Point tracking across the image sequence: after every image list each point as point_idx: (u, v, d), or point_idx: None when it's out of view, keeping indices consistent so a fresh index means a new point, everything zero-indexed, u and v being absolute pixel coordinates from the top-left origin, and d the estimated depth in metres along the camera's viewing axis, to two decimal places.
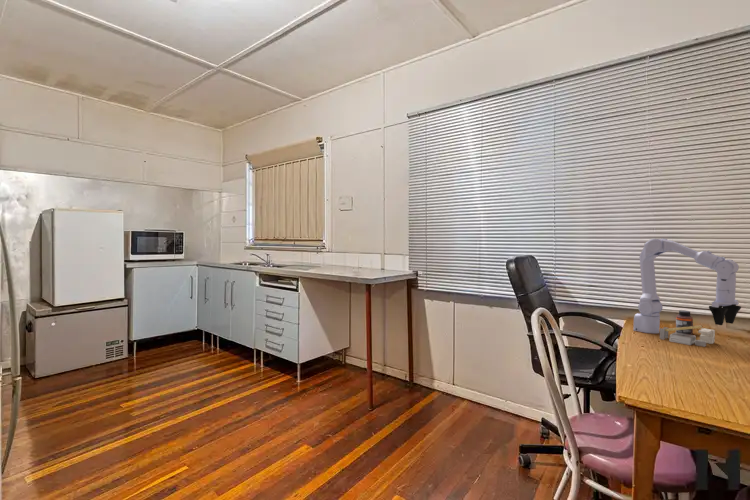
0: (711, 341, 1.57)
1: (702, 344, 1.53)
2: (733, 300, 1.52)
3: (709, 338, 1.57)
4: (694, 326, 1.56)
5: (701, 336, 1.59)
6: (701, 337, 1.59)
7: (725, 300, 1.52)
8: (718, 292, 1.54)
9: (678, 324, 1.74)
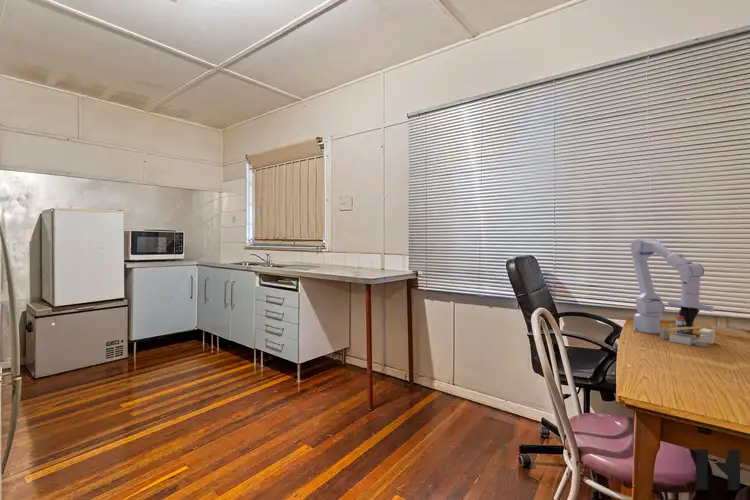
0: (711, 341, 1.57)
1: (702, 344, 1.53)
2: (686, 302, 1.56)
3: (709, 338, 1.57)
4: (694, 326, 1.56)
5: (701, 336, 1.59)
6: (701, 337, 1.59)
7: (681, 301, 1.59)
8: None
9: (678, 324, 1.74)
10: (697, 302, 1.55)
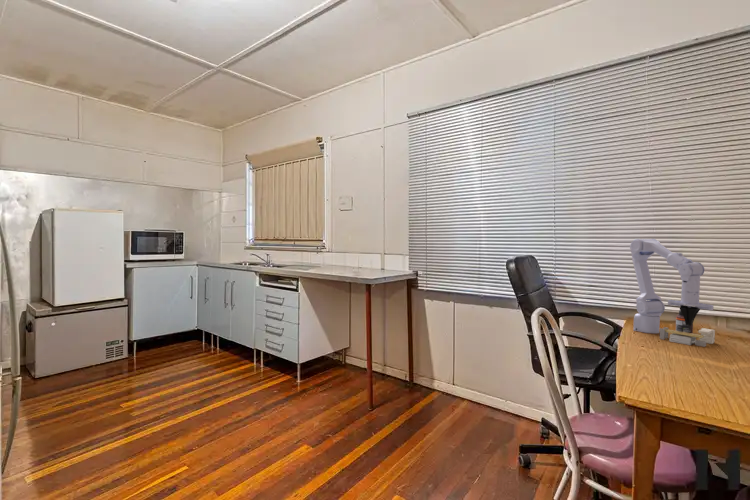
0: (711, 341, 1.57)
1: (702, 344, 1.53)
2: (686, 301, 1.56)
3: (709, 338, 1.57)
4: (696, 335, 1.55)
5: None
6: None
7: (681, 300, 1.59)
8: None
9: (678, 324, 1.74)
10: (697, 301, 1.55)
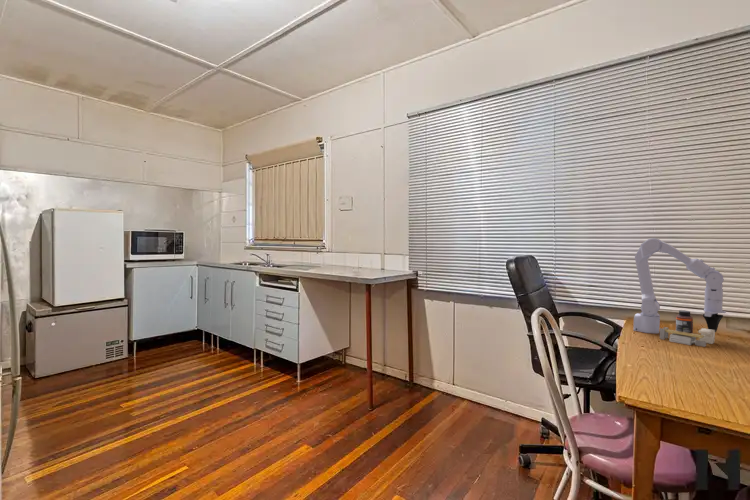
0: (711, 341, 1.57)
1: (702, 344, 1.53)
2: (721, 309, 1.60)
3: (709, 338, 1.57)
4: (696, 335, 1.55)
5: None
6: None
7: (715, 309, 1.60)
8: (708, 302, 1.62)
9: (678, 324, 1.74)
10: None
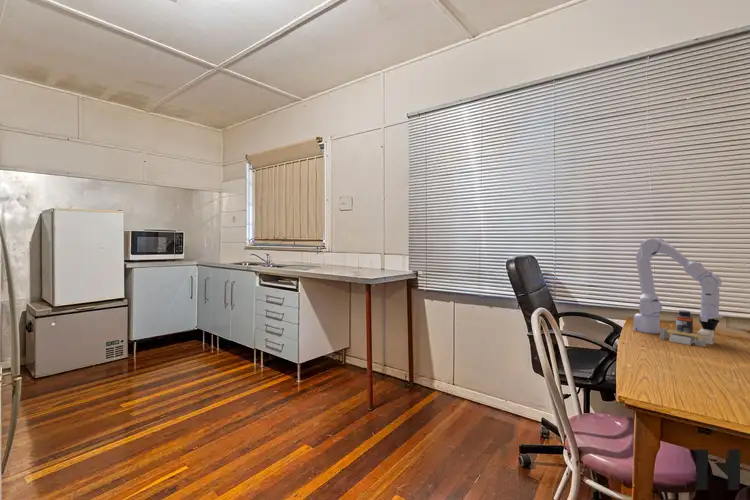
0: (710, 341, 1.56)
1: (702, 344, 1.53)
2: (718, 314, 1.57)
3: (708, 338, 1.57)
4: (696, 335, 1.55)
5: None
6: None
7: (711, 314, 1.57)
8: (704, 306, 1.59)
9: (678, 324, 1.74)
10: None
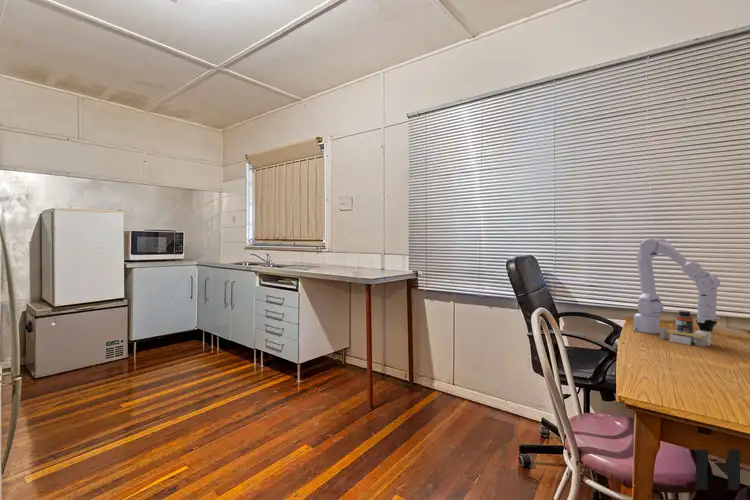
0: (707, 343, 1.54)
1: (702, 344, 1.53)
2: (715, 315, 1.55)
3: (705, 340, 1.54)
4: (696, 335, 1.55)
5: (697, 338, 1.57)
6: (697, 339, 1.57)
7: (708, 315, 1.55)
8: (701, 307, 1.57)
9: (678, 324, 1.74)
10: None
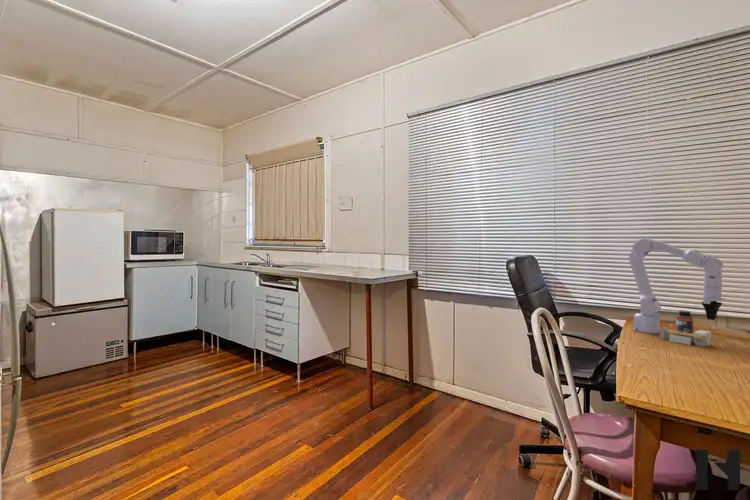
0: (707, 343, 1.54)
1: (702, 344, 1.53)
2: (720, 296, 1.59)
3: (705, 340, 1.54)
4: (696, 335, 1.55)
5: (697, 338, 1.57)
6: (697, 339, 1.57)
7: (714, 296, 1.59)
8: (706, 289, 1.60)
9: (678, 324, 1.74)
10: None
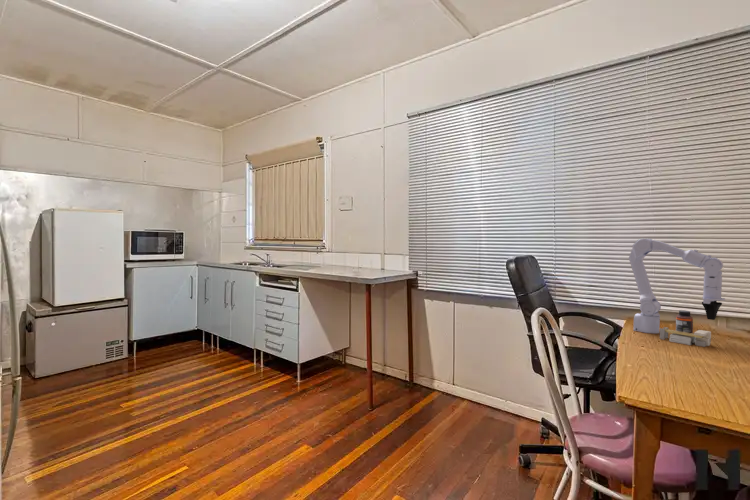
0: (707, 343, 1.54)
1: (702, 344, 1.53)
2: (720, 296, 1.59)
3: (705, 340, 1.54)
4: (696, 335, 1.55)
5: (697, 338, 1.57)
6: (697, 339, 1.57)
7: (714, 296, 1.59)
8: (706, 289, 1.60)
9: (678, 324, 1.74)
10: None
